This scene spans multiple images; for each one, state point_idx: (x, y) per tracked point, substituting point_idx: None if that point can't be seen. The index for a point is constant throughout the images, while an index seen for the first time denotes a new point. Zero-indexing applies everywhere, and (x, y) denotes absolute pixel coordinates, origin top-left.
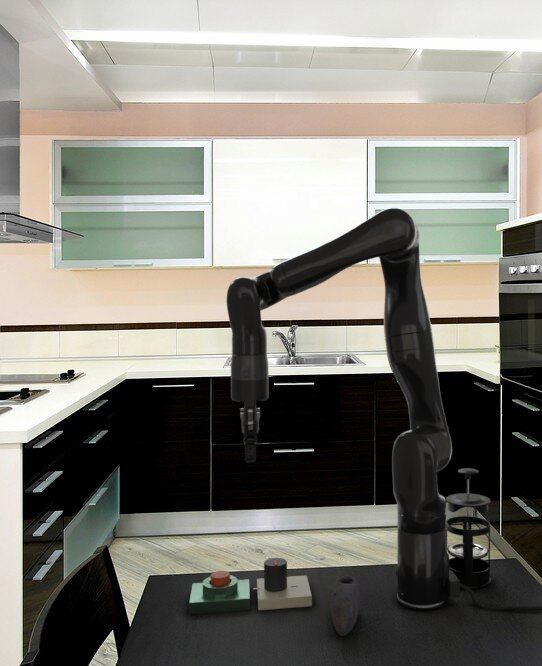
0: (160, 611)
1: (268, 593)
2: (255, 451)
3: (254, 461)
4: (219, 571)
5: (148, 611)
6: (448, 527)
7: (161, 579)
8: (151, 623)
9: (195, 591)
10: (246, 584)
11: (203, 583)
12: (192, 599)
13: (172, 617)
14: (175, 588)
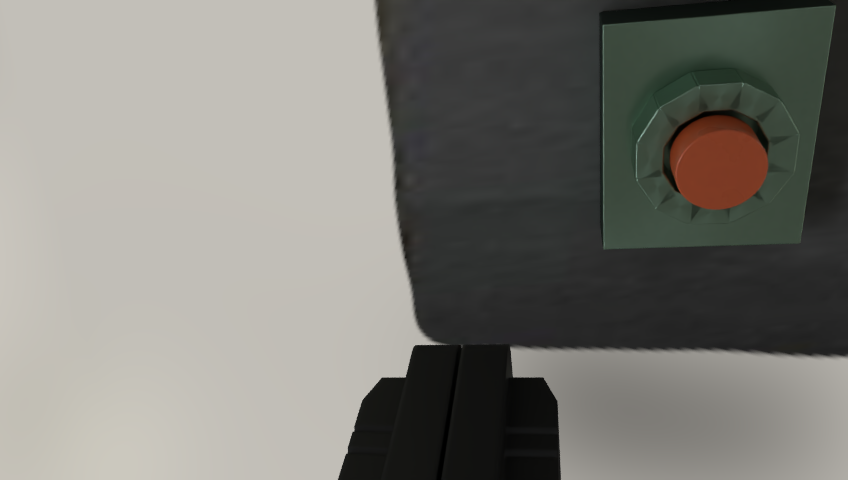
0: (727, 309)
1: None
2: (498, 443)
3: (510, 354)
4: (686, 177)
5: (717, 341)
6: None
7: (449, 334)
8: (818, 323)
9: (692, 232)
10: (664, 33)
11: (722, 221)
12: (770, 235)
13: (791, 269)
14: (535, 286)
